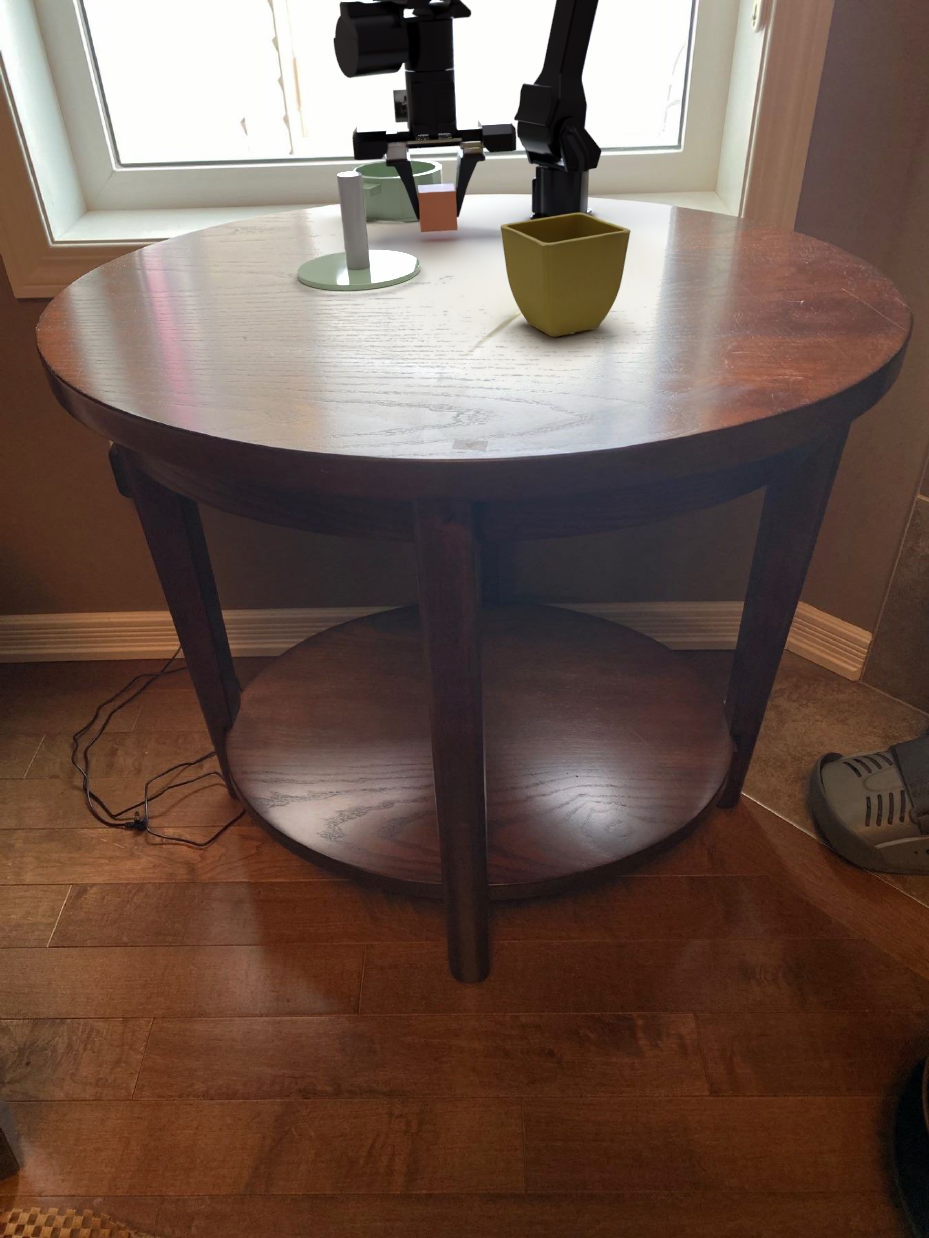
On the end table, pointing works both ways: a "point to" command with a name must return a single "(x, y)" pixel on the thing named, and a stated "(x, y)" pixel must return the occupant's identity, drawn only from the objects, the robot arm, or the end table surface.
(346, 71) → the robot arm
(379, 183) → the pot
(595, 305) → the flower pot
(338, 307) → the end table surface
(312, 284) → the lid
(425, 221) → the block
